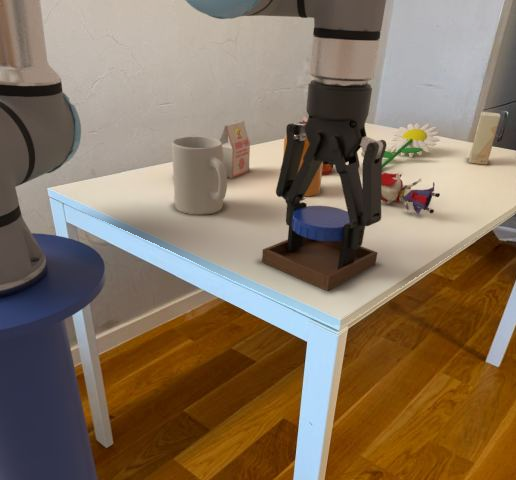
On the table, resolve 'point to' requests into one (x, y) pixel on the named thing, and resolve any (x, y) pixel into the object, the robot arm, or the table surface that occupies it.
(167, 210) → the table surface
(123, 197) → the table surface
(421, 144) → the decorative flower
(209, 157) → the mug
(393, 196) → the figurine
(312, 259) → the tray
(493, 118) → the box
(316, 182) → the honey jar
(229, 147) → the gable top carton
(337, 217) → the jar lid
